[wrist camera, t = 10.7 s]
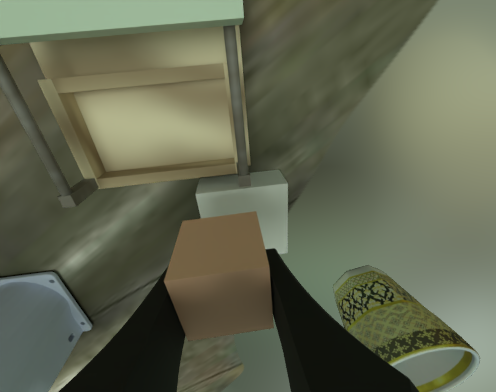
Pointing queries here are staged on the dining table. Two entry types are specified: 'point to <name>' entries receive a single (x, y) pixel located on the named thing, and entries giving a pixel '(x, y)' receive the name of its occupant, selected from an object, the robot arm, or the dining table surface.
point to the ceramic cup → (403, 330)
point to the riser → (250, 203)
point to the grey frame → (141, 107)
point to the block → (220, 277)
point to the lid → (109, 17)
